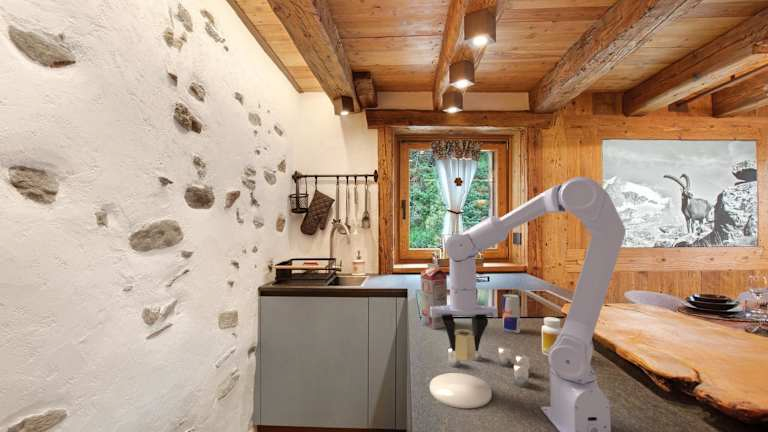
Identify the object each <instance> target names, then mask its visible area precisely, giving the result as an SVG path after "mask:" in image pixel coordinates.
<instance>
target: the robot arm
mask: <svg viewBox="0 0 768 432" xmlns="http://www.w3.org/2000/svg"><path fill="white" fill-rule="evenodd" d="M566 212H568V213H570V214H571V215H573V216H574V217H576V218H577V219H578V220H579V221H580V222H581V223H582V225H583V226H584V228H585V229H586V230H587V232H589V234H590V239H589V243H588V247H587V250H586V253H585V256H584V259H583V263H582V266H581V269H580V272H579V276H578V279H577V283H576V285H575V288H574V291H573V295H572V299H571V302H570V305H569V308H568V312H567V314H566V315H567V316H566V318H565V321H564V323H563V326H562V331H561V332H560V333H559V334H558V336H557V338H556V341H555V343H554V344H553V345H552V346H551V347H550V349H549V351H548V356H547V361H548V364H549V389H550V390H549V391H550V393H549V394H550V406H541V411H542V412H543V413H544V415H546V417H547V418H548V419H549V421H550V422H551V423H552V424H553V425H554V427H556V429H557V430H558V431H559V432H612V431H611V430H612V429H611V404H610V402H609V399H608V397H607V395H605V394H604V392H603V391H602V390H601V388H599V385H598V381H597V373H596V371H594V369H593V367H592V366H591V362H592V357H593V356H594V351H595V348H594V344H593V336H594V333H595V330H596V326H597V323H598V320H599V318H600V314H601V311H602V307H603V305H604V301H605V299H606V295H607V293H608V289H609V286H610V283H611V280H612V278H613V277H612V276H613V273H614V270H615V267H616V264H617V261H618V258H619V254H620V252H621V249H622V245H623V242H624V239H625V236H626V228H625V225H624V223H623V221H622V219H621V216H620V215H619V213H618V210H617V209H616V207H615V204H614V202H613V200H612V197H611V196H610V193H608V192H607V190H605V189H604V188H603V187H602V186H601V184H599V183H598V182H597V181H596V180H595V179H592V178H591V177H587V176H574V177H572V178H570V179H568V180H567V181H565V182H563V184H561V183H560V184H557V185H555V186H552V187H550V188H549V189H547V190H545V191H542V192H541V193H539V194H538V195H536V196H534V197H533V198H530V200H527V201H526V202H525V203H523V204H521V205H520V206H518V207H515V209H513V210H511V211H510V212H508V213H506V214H505V215H503V216H502V217H498V216H496V215H490V216H488V215H485V216H484V215H483V217H481V218H480V221H479V222H478V223H476V224H475V225H473V226H471V227H465V228H464V229H462V233H453V234H451V235H450V236H449V237H448V238H447V240H446V241H445V243H444V250H445V254H446V256H448V258H449V303H450V304H447V305H445V306H434V307H430V315H431V317H441V319H442V321H443V323H444V326H445V327H444V328H445V330H446V334H447V337H448V340H449V347H450V348H451V350H452V351H455V330H456V322H455V320H454V317H470V318H471V327H472V330H471V331H473V333H474V334H475V350H476V351H478V348H479V343H481V339H482V336H483V334H484V332H485V330H486V328H487V326H488V325H489V319H488V318H487V317H491V318H498V308H497V307H496V306H494V305H477V269H476V268H477V267H476V266H477V265H476V257H477V256H478V254H479V253H482V252H485V251H486V250H488V249H490V248H492V247H494V246H496V245H499V244H500V243H502V242H505V241H506V240H508V235H509V233H510V231H512V230H514V229H515V228H517V227H520V226H522V225H524V224H526V223H529V222H531V221H533V220H535V219H537V218H539V217H541V216H543V215H546V214H550V213H552V214H553V213H554V214H555V213H556V214H557V213H566Z"/></svg>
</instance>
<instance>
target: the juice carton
mask: <svg viewBox="0 0 768 432" xmlns="http://www.w3.org/2000/svg"><path fill="white" fill-rule="evenodd" d="M426 264H427V267H426V268H425V269H424V270H422V271H421V272H420V304H421V305H420V310H421V312H420V314H421V316H420V317H421V318H420V320H421V325H422V326H424V327H426V328H429V329H431V330H436V329H441V328H445V326H444V323H443V321H442V319H441V317H431V315H430V307H434V306H445V305H448V284H447V283H448V281H447V280H448V279H447V277H448V275H447V273H446V272H445V271H443V270H441V269H440V264H434V263H428V262H427V263H426Z"/></svg>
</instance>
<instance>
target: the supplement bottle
mask: <svg viewBox="0 0 768 432" xmlns="http://www.w3.org/2000/svg"><path fill="white" fill-rule="evenodd" d="M543 324H544V325H542V326H541V351H542V352H541V353H542V354H543V355H544V356H547V357H548V351H549V349H550V347H551V346H552V345H553V344H554V343H555V341H556V338H557V336H558V334H559V333H560V332H561V331H562V329H563V327H561V319H560V318H557V317H551V316H546V317H543Z"/></svg>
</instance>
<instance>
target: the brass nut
mask: <svg viewBox="0 0 768 432" xmlns="http://www.w3.org/2000/svg"><path fill="white" fill-rule="evenodd" d="M453 354H454V356H455V358H458V359H460V360H461V361H462V360H463V361H470V360H471V359H474V358H476V350H475V334H474V333H473V330H469V329H462V328H460V329H455V351H453ZM471 361H472V360H471Z"/></svg>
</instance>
